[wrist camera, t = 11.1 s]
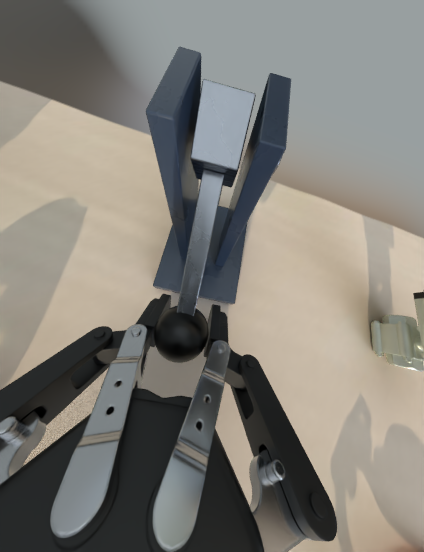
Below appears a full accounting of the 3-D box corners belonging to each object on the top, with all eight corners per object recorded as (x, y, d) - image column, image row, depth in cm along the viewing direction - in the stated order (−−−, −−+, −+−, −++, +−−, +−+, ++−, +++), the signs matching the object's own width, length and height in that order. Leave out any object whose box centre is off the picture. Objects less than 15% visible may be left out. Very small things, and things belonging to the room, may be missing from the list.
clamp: (232, 304, 17) (347, 259, 4) (155, 287, 17) (17, 181, 4) (245, 218, 21) (332, 47, 8) (182, 203, 20) (158, -6, 7)
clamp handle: (204, 341, 12) (200, 382, 9) (161, 332, 12) (140, 370, 9) (253, 143, 9) (279, 82, 5) (194, 127, 9) (182, 55, 5)
